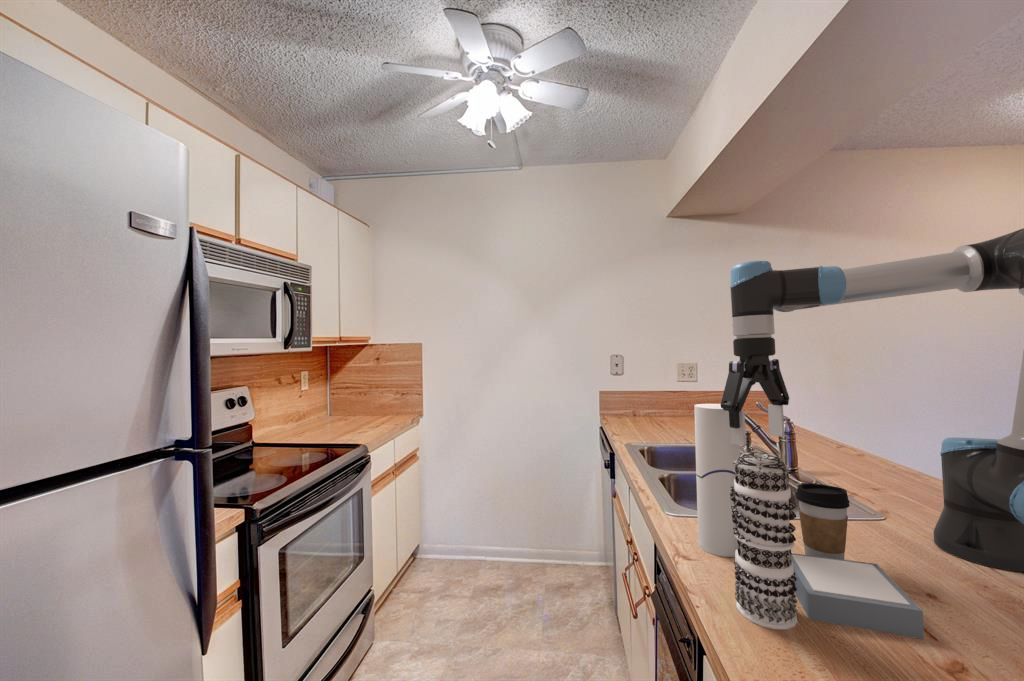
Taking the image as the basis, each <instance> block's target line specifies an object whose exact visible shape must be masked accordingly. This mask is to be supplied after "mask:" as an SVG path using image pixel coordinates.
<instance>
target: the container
mask: <svg viewBox="0 0 1024 681" xmlns="http://www.w3.org/2000/svg"><path fill="white" fill-rule="evenodd" d="M693 406H694V407H693V408H694V409H693V410H694V412H693V413H694V441H695V473H696V474H695V475H696V476H695V478H696V479H695V480H696V512H697V542H698V543H697V544H698V547H699V548H700V550H703V551H704V552H706V553H709V554H711V555H714V556H719V557H724V558H735V550H736V549H738V546H737V538H736V537H735V536H734V533H733V532H734V530H733V527H734V526H735V523H734V522H732V514H733V513H732V509H731V506H732V505H733V501H732V500H731V499H730V497H731V496H730V493H731V492H732V491H731V490H730V489H731V488H730V487H732V486H734V480H735V465H734V464H733V461H735V460H737V459H738V458H739V456H740V455H741V449H740V448H741V447H740V446H741V445H738V444H732V443H731V438H730V425H729V411H726V410H723V408H721V403H697V404H694V405H693ZM734 489H735V488H734ZM735 497H736V500H737V496H736V495H735ZM736 508H737V507H736ZM737 520H738V519H737Z"/></svg>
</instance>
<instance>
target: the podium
mask: <svg viewBox="0 0 1024 681" xmlns="http://www.w3.org/2000/svg"><path fill="white" fill-rule="evenodd" d="M791 553H792V554H791V556H792V557H791V560H792V562H793V572H794V573H795V577H796V578H797V580H796V581H794V582H795V587H796V588H797V591H794V594H796V598H797V600H799V603H800V604H801V606H802V608H803V610H804V613H805V615H807V616H806V617H807V618H808V619H809V620H810V621H813V622H814V621H816V622H822V623H826V624H827V623H828V624H832V625H833V624H834V625H839V626H845V627H851V628H854V629H855V628H857V629H862V630H868V631H873V632H874V631H875V632H880V633H885V634H892V635H896V636H897V635H899V636H903V637H908V638H909V637H910V638H916V639H920V640H921V639H922V640H925V629H924V627H925V626H924V624H925V623H924V610H922V609H921V608H920V606H918V605H917V603H915V601H913V599H911V598H910V596H909V595H908V594H907V593H906V592H905V591H904V590H903V589H902V588H901V586H899V585H898V584H897V583H896V582H895V581H894V580H893V579H892V578H891V576H889V575H888V574H887V573H886V572H885V571H884V570H883V568H881V567H880V565H878V563H873V562H871V563H870V562H863V561H858V560H857V561H856V560H849V559H844V560H842V559H834V558H826V557H818V556H810V555H805V554H800V553H793V552H791Z"/></svg>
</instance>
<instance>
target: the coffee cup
mask: <svg viewBox="0 0 1024 681" xmlns="http://www.w3.org/2000/svg"><path fill="white" fill-rule="evenodd" d="M795 495H796V496H795V498H796V500H798V504H799V507H798V514H799V522H800V529H801V535H802V542H803V546H804V547H803V548H804V555H810V556H818V557H826V558H834V559H842V560H845V552H846V547H847V546H846V544H847V543H846V542H847V533H848V532H847V531H848V520H849V519H848V518H849V517H848V516H849V515H848V514H847V512H848V508H849V507H850V500H849V496H848V491H847V490H846V489H845V488H843V487H839V486H834V485H827V484H822V483H809V482H808V483H807V482H806V483H800V484H798V485H797V489H796V492H795Z"/></svg>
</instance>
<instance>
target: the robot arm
mask: <svg viewBox="0 0 1024 681" xmlns="http://www.w3.org/2000/svg"><path fill="white" fill-rule="evenodd" d="M729 289H730V299H731V301H730V302H731V318H732V335H733V336H734V337H736V338H734V339H733V342H732V343H733V344H732V345H733V346H732V347H733V355H734V356H735V357H739V360H738V361H737V360H733V361H732V360H731V361H729V363H728V374H727V377H726V381H725V386H724V389H723V394H722V398H721V402H720V404H721V408H723V410H726V411H729V425H730V438H731V443H732V444H738V445H740V446H747V438H746V437H747V436H746V418H745V416H746V415H745V411H742V410H743V407H744V405H745V403H746V401H747V398H748V396H749V393H750V391H751V389H752V387H753V386H754V385H756V383H758V384H759V385H760V387H761V389H762V391H763V392H764V394H765V395H766V396H765V397H767V399H768V401H769V402H770V404H767V412H768V413H767V414H768V416H767V417H768V430H769V431H768V433H769V434H768V435H770V436H774V437H780V438H781V437H782V438H784V437H785V423H784V422H785V421H784V406H788V405H789V404H790V396H789V393H788V390H787V386H786V384H785V381H784V378H783V375H782V372H781V368H780V360H779V359H778V358H770V356H772V357H773V356H774V355H776V339H775V338H774V337H772V335H773V336H774V335H775V332H776V331H775V318H774V311H777V312H780V313H789V312H790V313H791V312H793V311H797V310H798V311H799V310H805V309H806V310H807V309H812V308H818V307H826V306H834V305H840V304H849V303H850V304H851V303H857V302H865V301H872V300H879V299H887V298H896V297H903V296H909V295H919V294H924V293H933V292H941V291H948V290H959V291H960V292H962V293H972V292H979V291H981V292H982V291H993V290H1013V289H1017V290H1018V294H1020V295H1021V296H1023V297H1024V228H1020V229H1017V230H1014V231H1012V232H1009V233H1006V234H1003V235H1000V236H998V237H995V238H991V239H989V240H985V241H981V242H977V243H972V244H965V245H960V246H957V247H956V248H955V249H954V250H953V251H951V252H947V253H941V254H934V255H928V256H922V257H921V256H920V257H915V258H914V257H913V258H909V259H908V258H907V259H903V260H901V259H900V260H895V261H889V262H882V263H875V264H870V265H869V264H868V265H864V266H858V267H851V268H844V269H842V268H841V267H840V266H838V265H837V266H834V265H833V266H832V265H831V266H830V265H829V266H823V265H819V266H815V267H805V268H794V269H784V270H781V269H780V270H777V269H773V267H772V263H771V262H770V261H768V260H753V261H746V262H745V261H744V262H741V263H737V264H735V265H734V266H733V267H732V268H731V269H730V286H729ZM1019 373H1020V374H1019V380H1018V385H1017V386H1018V387H1017V394H1016V400H1015V406H1014V414H1013V420H1012V428H1011V433H1010V434H1009V435H1007V436H1005V437H1003V438H1000V439H999V438H998V439H997V438H980V437H947V438H945V439H943V440H942V442H941V450H940V452H939V454H940V458H941V476H942V492H943V493H942V494H943V509H942V511H941V513H940V515H939V518H938V520H937V522H936V524H935V527H934V529H933V543H934V545H936V546H937V547H938V548H939V549H941V550H942V551H944V552H946V553H949V554H950V555H953V556H955V557H958V558H961V559H964V560H966V561H969V562H972V563H976V564H980V565H982V566H988V567H991V568H996V569H1001V570H1007V571H1014V572H1020V573H1024V350H1023V351H1022V359H1021V365H1020V372H1019Z"/></svg>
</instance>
